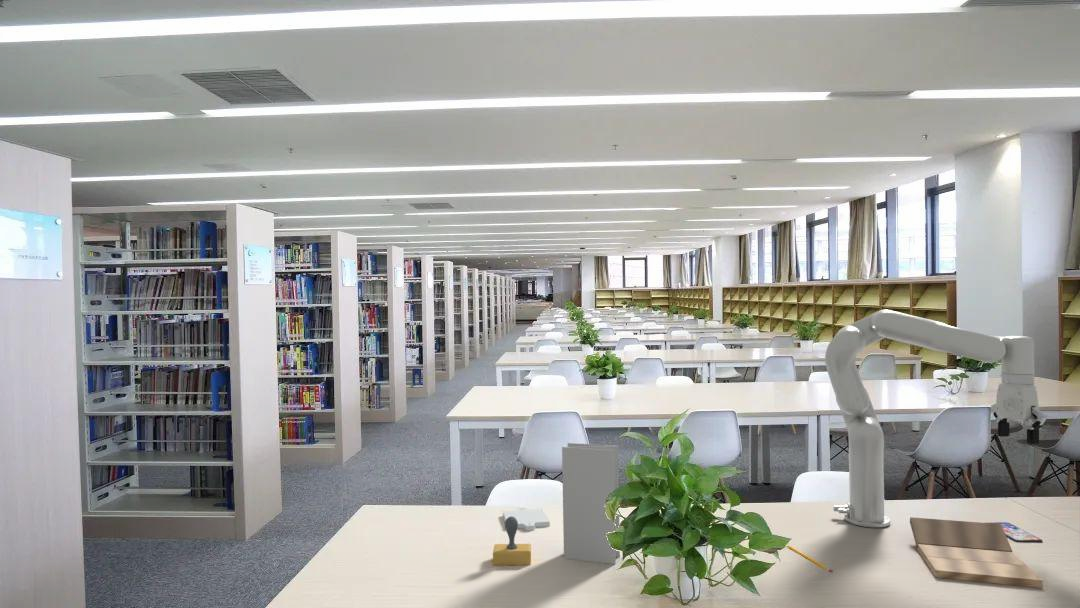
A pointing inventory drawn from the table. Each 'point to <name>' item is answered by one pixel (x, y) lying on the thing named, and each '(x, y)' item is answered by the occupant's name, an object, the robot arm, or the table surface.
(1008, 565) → the laid floor
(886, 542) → the table surface
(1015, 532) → the smartphone
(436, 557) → the table surface
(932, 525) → the walnut plank
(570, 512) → the brochure
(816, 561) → the pencil
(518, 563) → the rubber stamp
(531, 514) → the mounting plate
